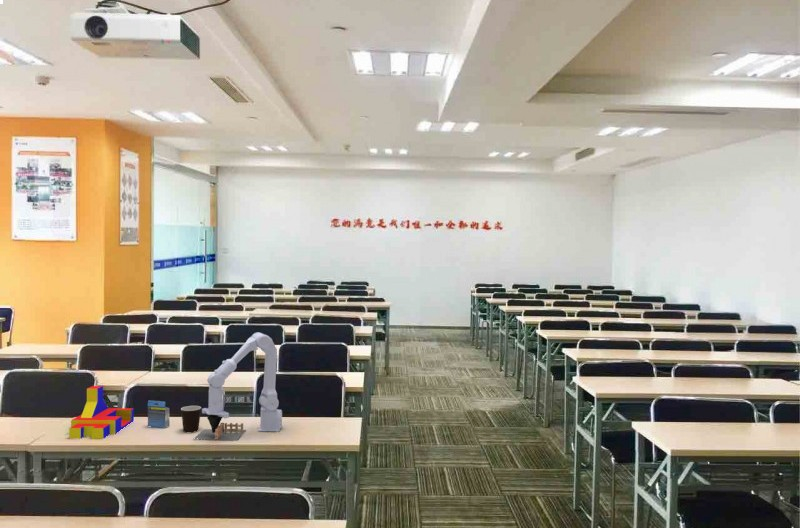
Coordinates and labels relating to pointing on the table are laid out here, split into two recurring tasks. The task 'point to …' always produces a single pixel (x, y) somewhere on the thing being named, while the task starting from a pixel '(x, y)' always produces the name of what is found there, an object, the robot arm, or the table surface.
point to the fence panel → (218, 431)
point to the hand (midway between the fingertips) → (214, 432)
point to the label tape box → (158, 414)
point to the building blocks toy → (99, 417)
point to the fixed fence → (231, 427)
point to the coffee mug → (190, 418)
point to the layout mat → (209, 435)
